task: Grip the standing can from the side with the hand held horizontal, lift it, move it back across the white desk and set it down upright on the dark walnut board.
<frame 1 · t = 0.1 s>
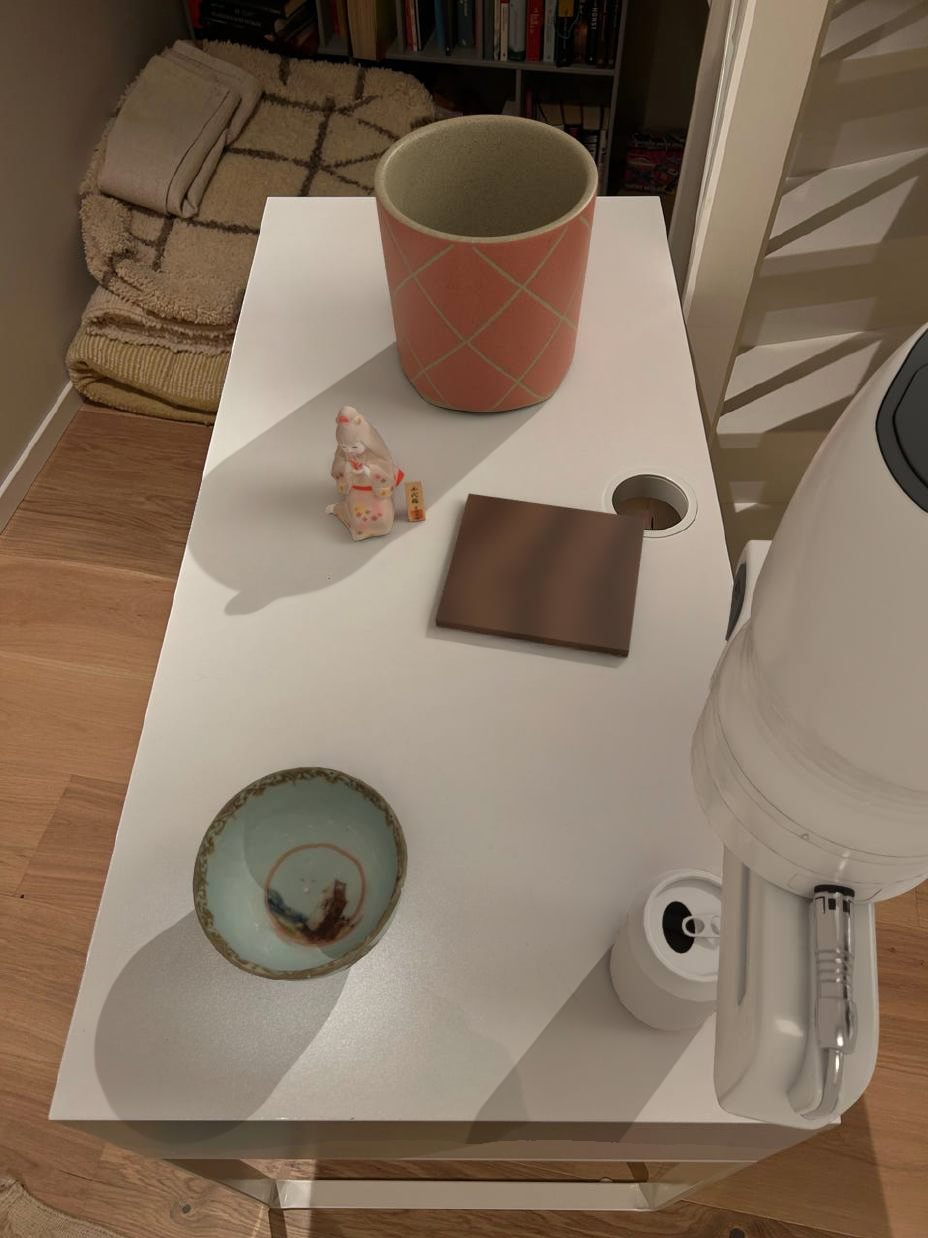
hand: (740, 884, 41), 23 cm above the table, tool pointing down, fingers open, 8 cm apart
can: (664, 973, 62), on the table
figurine: (376, 514, 84), on the table
bowl: (319, 903, 65), on the table
board: (543, 574, 80), on the table
planter: (486, 359, 95), on the table
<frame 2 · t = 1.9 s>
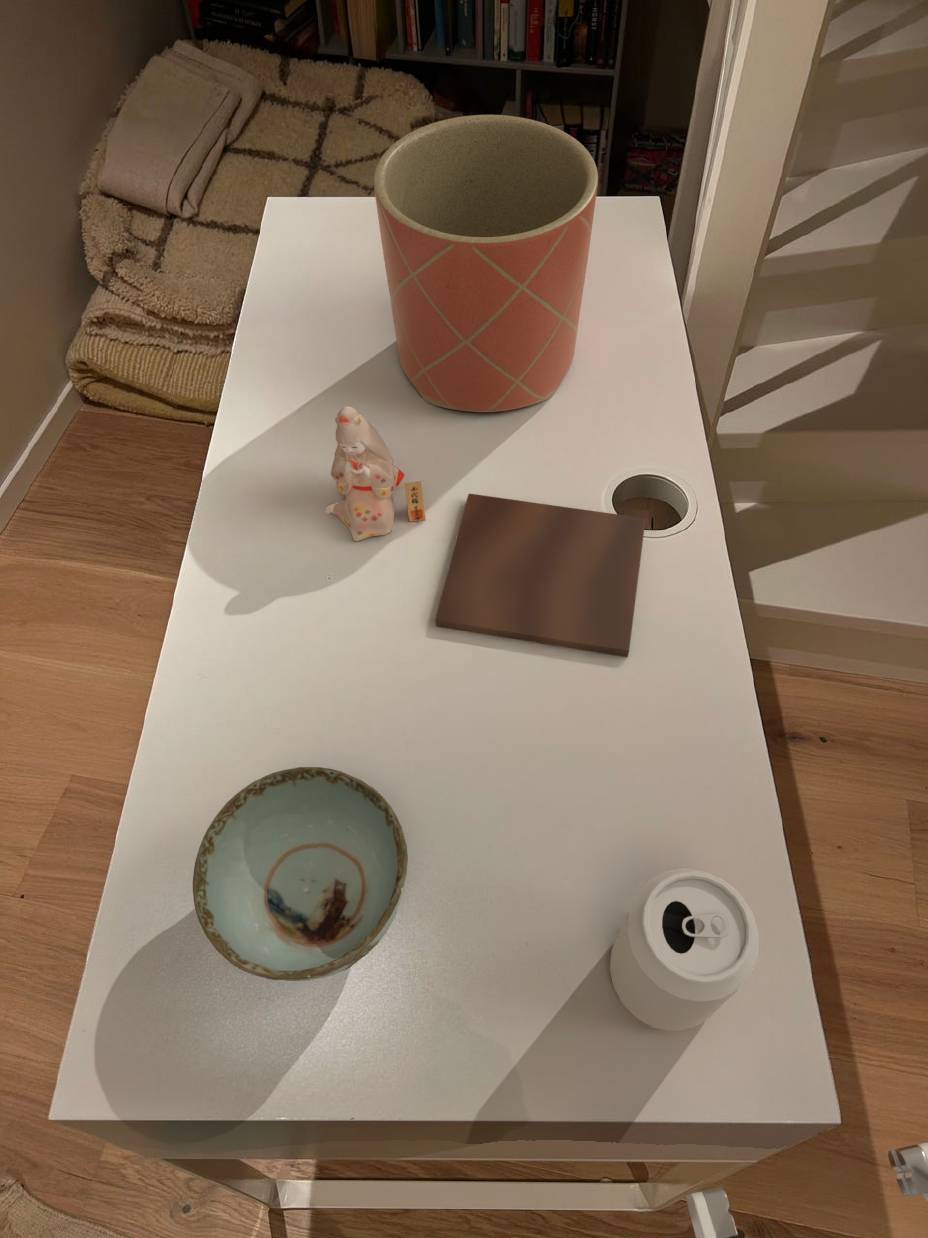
hand: (806, 1168, 41), 17 cm above the table, tool horizontal, fingers open, 8 cm apart
nothing on the table moved.
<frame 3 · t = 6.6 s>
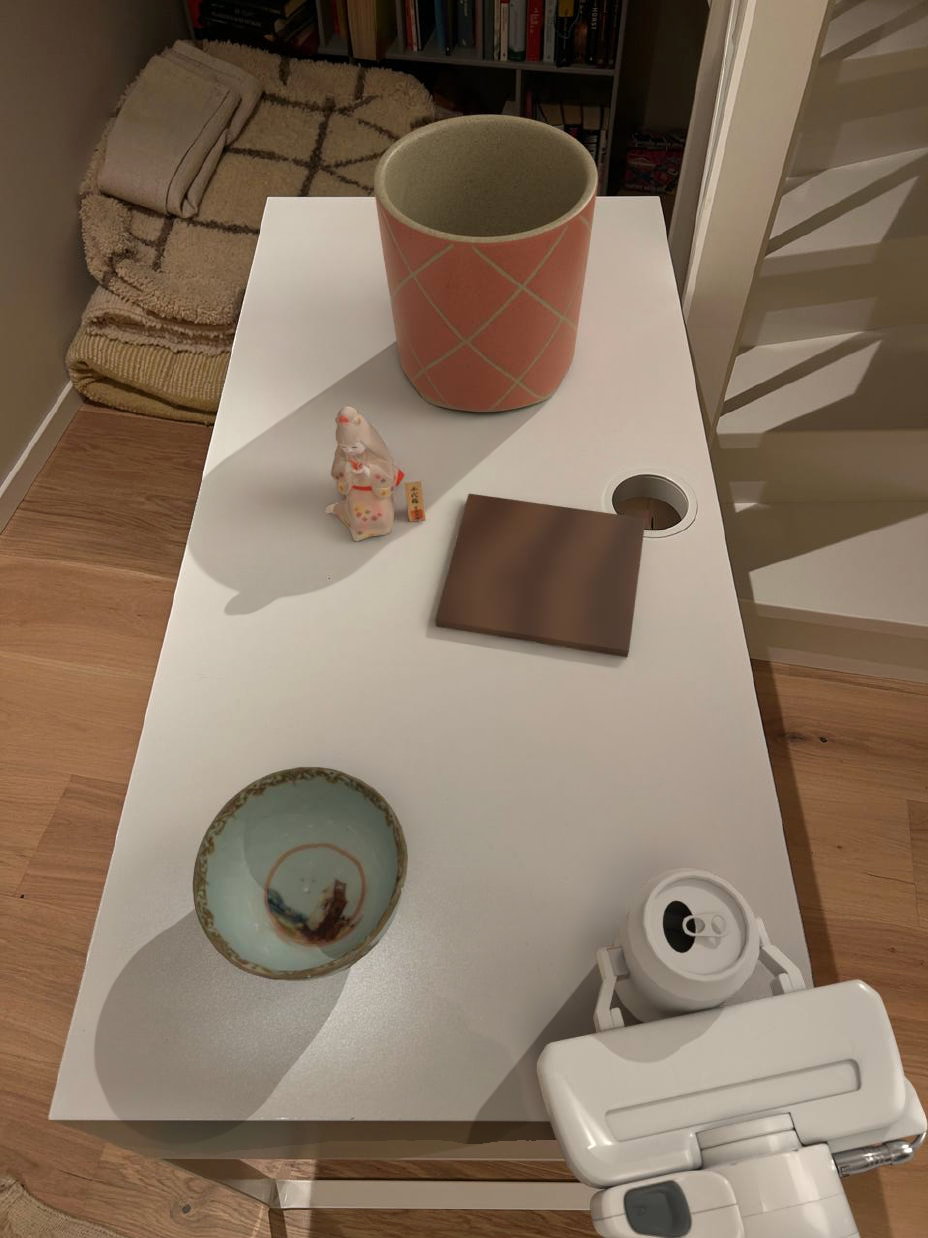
hand: (676, 934, 56), 6 cm above the table, tool horizontal, fingers closed on can, 7 cm apart
can: (664, 973, 62), on the table, touching gripper
everything else where it was.
when the fingers open (7 cm above the table, at t = 16.9 s): can stays where it is, resting on board.
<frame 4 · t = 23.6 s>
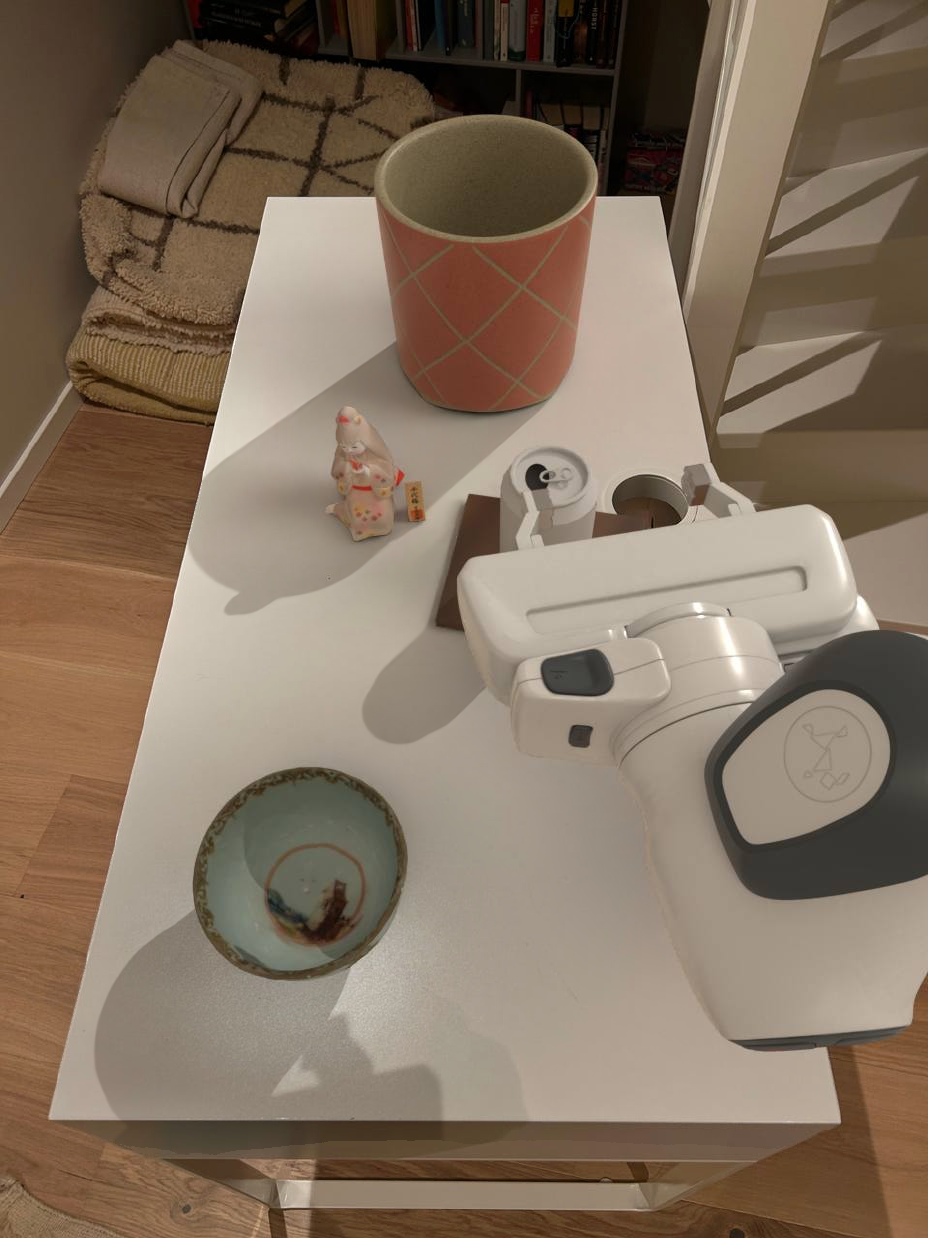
hand: (614, 483, 52), 25 cm above the table, tool horizontal, fingers open, 8 cm apart
can: (543, 569, 79), point 1 cm above the table, touching board
everything else where it was.
at the end: can inside the target area on the board (0.1 cm from its centre), point 0.8 cm above the board's base; can tilted 0°; can moved 33.6 cm from its start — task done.
